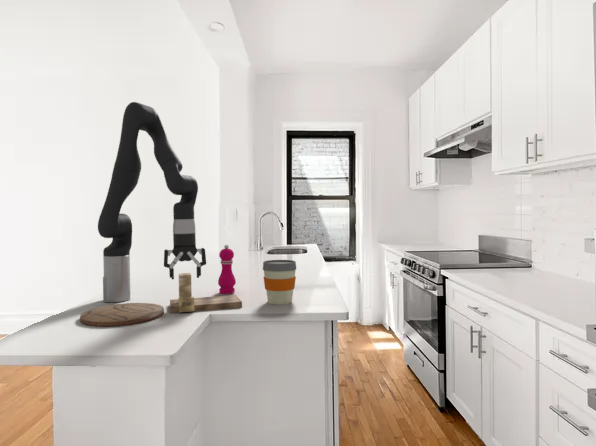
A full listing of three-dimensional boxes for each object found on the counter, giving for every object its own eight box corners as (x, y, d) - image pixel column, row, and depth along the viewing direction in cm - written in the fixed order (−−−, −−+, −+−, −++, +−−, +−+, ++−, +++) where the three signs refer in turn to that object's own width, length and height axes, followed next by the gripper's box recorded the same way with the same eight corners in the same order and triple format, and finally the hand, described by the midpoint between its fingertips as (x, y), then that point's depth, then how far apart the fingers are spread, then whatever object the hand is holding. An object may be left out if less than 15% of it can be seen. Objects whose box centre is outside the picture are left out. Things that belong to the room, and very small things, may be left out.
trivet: (115, 332, 116) (115, 326, 116) (62, 321, 129) (62, 315, 128) (180, 313, 138) (180, 307, 138) (130, 305, 150) (129, 300, 150)
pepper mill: (234, 294, 167) (233, 245, 167) (216, 294, 168) (215, 245, 167) (237, 290, 175) (236, 244, 174) (220, 290, 175) (219, 244, 174)
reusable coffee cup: (292, 306, 146) (292, 264, 146) (258, 304, 148) (258, 263, 148) (299, 298, 158) (299, 260, 158) (268, 297, 161) (267, 259, 160)
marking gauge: (178, 312, 136) (178, 278, 135) (177, 303, 148) (176, 272, 148) (194, 311, 137) (194, 277, 137) (191, 302, 150) (191, 271, 150)
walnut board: (170, 312, 137) (170, 306, 137) (170, 305, 149) (170, 299, 149) (242, 307, 145) (241, 301, 145) (236, 300, 156) (236, 294, 156)
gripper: (163, 233, 138) (164, 281, 138) (206, 231, 142) (207, 278, 143) (162, 232, 145) (164, 278, 145) (204, 231, 150) (205, 275, 150)
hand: (185, 278), depth 144 cm, fingers open, 8 cm apart
